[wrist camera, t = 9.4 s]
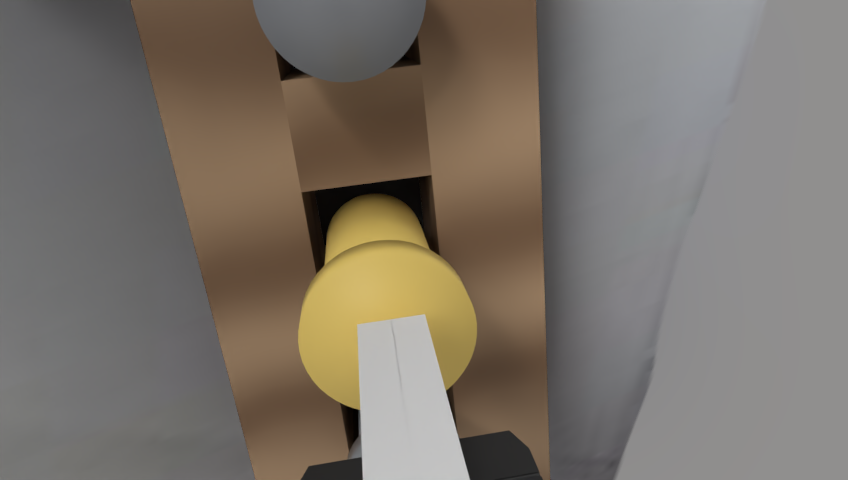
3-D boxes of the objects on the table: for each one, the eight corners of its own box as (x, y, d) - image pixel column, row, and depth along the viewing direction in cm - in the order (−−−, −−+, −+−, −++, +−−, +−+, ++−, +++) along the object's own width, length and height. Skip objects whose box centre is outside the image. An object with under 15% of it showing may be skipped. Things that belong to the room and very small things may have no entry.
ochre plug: (301, 188, 20) (282, 269, 13) (429, 171, 20) (470, 242, 14) (323, 303, 22) (314, 425, 15) (441, 285, 22) (482, 397, 15)
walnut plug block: (150, -104, 20) (93, -141, 16) (489, -134, 21) (530, -177, 17) (281, 450, 29) (269, 532, 24) (518, 410, 30) (550, 482, 25)
